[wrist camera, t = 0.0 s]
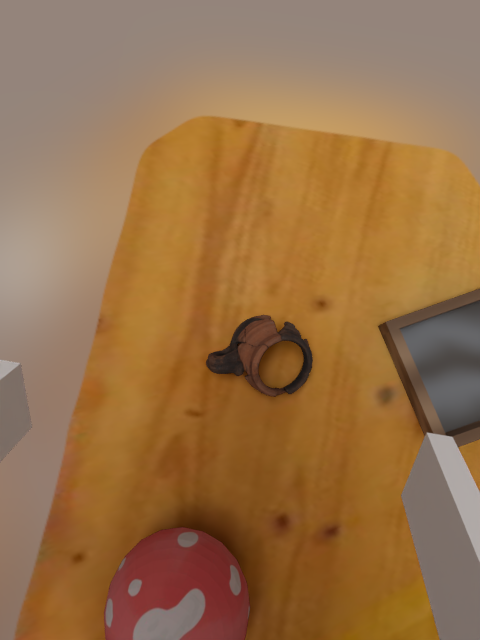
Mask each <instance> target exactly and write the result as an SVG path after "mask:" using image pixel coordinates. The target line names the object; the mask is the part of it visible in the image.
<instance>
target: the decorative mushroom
mask: <svg viewBox="0 0 480 640" xmlns="http://www.w3.org/2000/svg"><path fill="white" fill-rule="evenodd" d="M249 612H250V602H249V595H248V587H247V582H246V580H245V577H244V575H243V573H242V570H241V568H240V566H239V564H238V561H237V560H236V558H235V557H234V556H233V555H232V554H231V553H230V552H229V550H228V549H227V548H226V547H225V546H224V545H223V543H222V542H220V541H218V540H217V539H215V538H213V537H212V536H210V535H208V534H207V533H205V532H203V531H199V530H194V529H189V528H184V527H180V528H172V529H165V530H160V531H158V532H156V533H154V534H152V535H150V536H148V537H146V538H144V539H142V540H141V541H140V542H139V543H138V544H137V545H136V546H135V547H134V548H133V549H132V550H131V551H130V552H129V553H128V554H127V555H126V556H125V558H124V559H123V561H122V563H121V564H120V566H119V568H118V570H117V572H116V574H115V576H114V578H113V580H112V581H111V584H110V588H109V592H108V597H107V602H106V607H105V611H104V621H105V636H106V640H245V636H246V631H247V625H248V618H249Z"/></svg>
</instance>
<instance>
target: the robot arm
mask: <svg viewBox="0 0 480 640" xmlns="http://www.w3.org/2000/svg"><path fill="white" fill-rule="evenodd" d="M31 428H32V424H31V419H30V414H29V407H28V402H27V396H26V390H25V385H24V379H23V374H22V368H21V363H16V362H11V361H5V360H0V462H1V461H2V460H3V458H4V457H5V456H6V455H7V454H8V453H9V452H10V451H11V450H12V448H13V447H14V446H15V445H16V444H17V443H18V442H19V441H20V440H21V439H22V438H23V436H25V434H26V433H27V432H28V431H29V430H30V429H31ZM401 496H402V500H403V504H404V508H405V511H406V515H407V519H408V523H409V526H410V530H411V534H412V537H413V541H414V545H415V549H416V552H417V556H418V560H419V564H420V567H421V571H422V575H423V578H424V582H425V586H426V590H427V593H428V597H429V601H430V605H431V608H432V612H433V616H434V619H435V623H436V627H437V631H438V634H439V638H440V640H480V492H479V490H478V488H477V486H476V484H475V482H474V480H473V478H472V475H471V473H470V471H469V469H468V467H467V465H466V463H465V461H464V459H463V457H462V455H461V453H460V451H459V449H458V447H457V445H456V443H455V441H454V439H453V437H450V436H444V435H439V434H433V433H426V435H425V438H424V440H423V443H422V445H421V448H420V450H419V453H418V455H417V458H416V460H415V463H414V465H413V468H412V470H411V472H410V475H409V477H408V480H407V482H406V485H405V487H404V490H403V492H402V495H401Z"/></svg>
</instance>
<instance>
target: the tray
mask: <svg viewBox="0 0 480 640" xmlns="http://www.w3.org/2000/svg"><path fill="white" fill-rule="evenodd" d="M378 327H379V329H380V331H381V334H382V336H383V338H384V341H385V343H386V345H387V348H388V350H389V353H390V355H391V357H392V360H393V362H394V364H395V367H396V369H397V371H398V374H399V376H400V378H401V381H402V383H403V386H404V388H405V390H406V393H407V395H408V397H409V400H410V402H411V404H412V407H413V409H414V411H415V414H416V416H417V418H418V421H419V423H420V426H421V428H422V430H423V433H424V435H426V433H433V434H439V435H444V436H450V437H453V439H454V441H455V443H456V445H457V447H459V446H462V445H465V444H468V443H471V442H473V441H476V440H479V439H480V289H477V290H475V291H472V292H469V293H466V294H463V295H461V296H458V297H455V298H452V299H449V300H446V301H444V302H441V303H438V304H435V305H432V306H430V307H427V308H424V309H421V310H418V311H416V312H413V313H410V314H407V315H404V316H401V317H399V318H396V319H393V320H390V321H387V322H385V323H383V324H381V325H380V326H378Z"/></svg>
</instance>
